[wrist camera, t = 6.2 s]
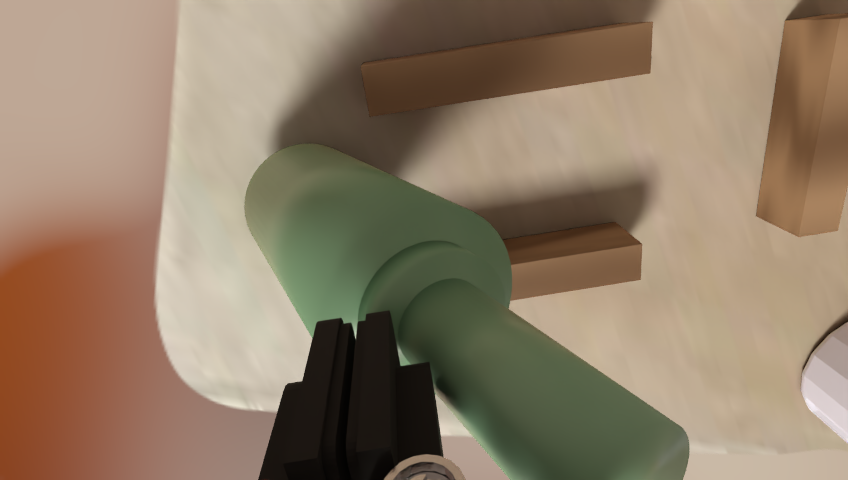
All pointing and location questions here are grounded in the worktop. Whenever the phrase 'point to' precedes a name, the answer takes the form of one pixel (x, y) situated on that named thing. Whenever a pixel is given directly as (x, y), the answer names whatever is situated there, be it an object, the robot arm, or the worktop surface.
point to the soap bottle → (829, 381)
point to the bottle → (450, 317)
